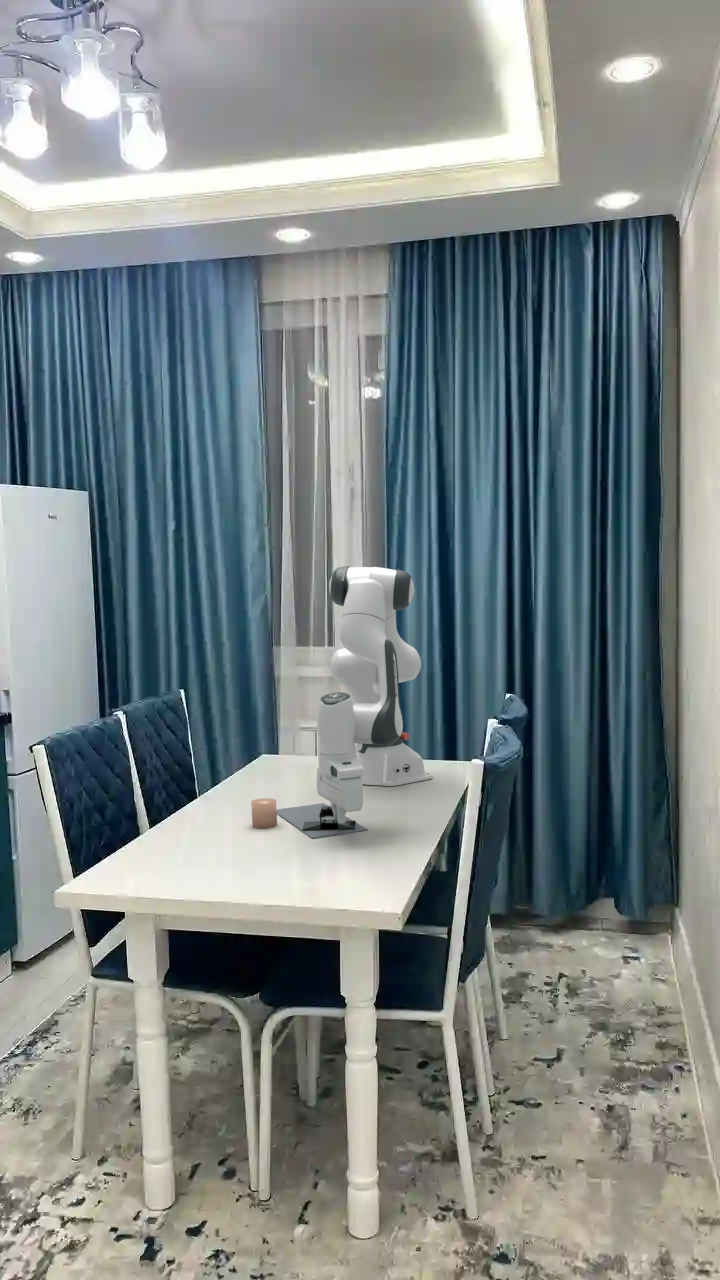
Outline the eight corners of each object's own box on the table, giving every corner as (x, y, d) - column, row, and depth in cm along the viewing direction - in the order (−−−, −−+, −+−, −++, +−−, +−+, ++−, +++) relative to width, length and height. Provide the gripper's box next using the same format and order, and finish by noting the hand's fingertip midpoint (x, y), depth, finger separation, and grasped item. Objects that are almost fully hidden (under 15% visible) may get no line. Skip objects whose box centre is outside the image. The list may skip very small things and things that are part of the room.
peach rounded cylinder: (272, 820, 248) (271, 797, 248) (280, 826, 243) (279, 802, 242) (249, 824, 246) (248, 800, 245) (256, 830, 240) (255, 805, 240)
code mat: (323, 804, 263) (323, 802, 263) (367, 830, 236) (367, 829, 236) (272, 811, 258) (272, 809, 258) (312, 838, 231) (312, 837, 231)
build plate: (302, 831, 237) (301, 812, 236) (304, 823, 244) (303, 804, 244) (354, 829, 236) (353, 810, 236) (355, 821, 244) (354, 802, 243)
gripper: (309, 757, 241) (311, 813, 242) (341, 773, 222) (343, 834, 223) (333, 754, 243) (335, 810, 245) (367, 770, 225) (369, 830, 226)
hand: (339, 821), depth 234 cm, fingers closed
